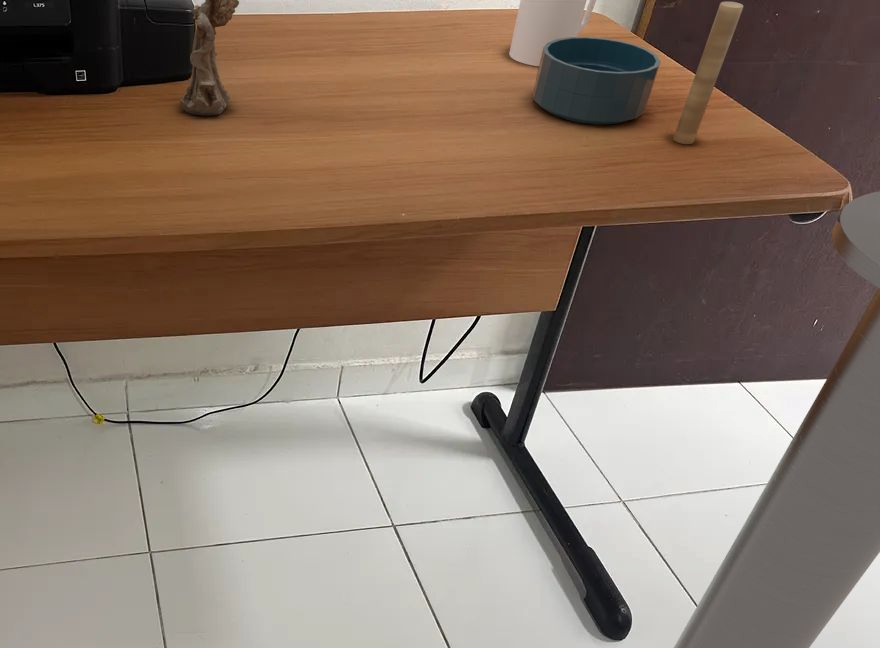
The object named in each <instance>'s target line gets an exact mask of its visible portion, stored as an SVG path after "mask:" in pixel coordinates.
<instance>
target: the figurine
mask: <svg viewBox="0 0 880 648" xmlns="http://www.w3.org/2000/svg"><path fill="white" fill-rule="evenodd" d="M239 5H240V0H205V1H204V2H203V3H201V5H199V4H196V5H194V7H193V12H192V13H193V17H192V19H193V20H194V22H195V24H196V29H195V31H194V37H193V43H192V51H191V53H190V56H189V61H190V64H191V66H192V71H191V76H190V81H189V84H188V87H187V88H186V90H185V93H184V94H183V95H182V97H181V98H180V100H179V101H180V102H179V103H180V105H182V107H183V108H184V112H186V113H187V114H190V115H195V116H205V117H206V116H217V115H220V114H222V113H223V112H225V110H226V108H227V106H228V104H229V101H230V99H231V93H229V91H228V90H226V88H225V86H224V85H223V82H222V80H221V78H220V77H221V76H220V73H219V69H218V65H217V56H218V52H216V46H215V40H216V35H217V32H216V28H220V27H225V26H226V25H227V24H228V23H229V21H231V20H232V18H233V15H234V14H235V13H236V8H237V7H238V6H239Z"/></svg>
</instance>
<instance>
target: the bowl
mask: <svg viewBox="0 0 880 648" xmlns="http://www.w3.org/2000/svg"><path fill="white" fill-rule="evenodd" d="M660 66H661V59H660V57H659V55H657V54H656V53H655V52H653V51H652V50H650V49H648V48H645V47H643V46H641V45H637V44H634V43H630V42H627V41H622V40H618V39H612V38H605V37H595V36H594V37H593V36H577V37H568V38H562V39H556V40H553V41H551V42H548V43H547V44H546V45H545V46H544V48H543V51H542V56H541V60H540V64H539V66H538V69H537V73H536V78H535V81H534V86H533V90H532V95H531V96H532V99H533V101H534V102H535V103H536V104H537V105H538V106H539V107H540V108H542V109H543V110H544V111H546V112H548V113H549V114H550V115H553V116H556V117H558V118H561V119H564V120H568V121H571V122H575V123H581V124H590V125H615V124H622V123H625V122H628V121H630V120H635V119H638V118H639V117H641V116H643V115H644V113H645V111H646V109H647V106H648V103H649V100H650V97H651V94H652V90H653V86H654V84H655V81H656V77H657V75H658V72H659V68H660Z"/></svg>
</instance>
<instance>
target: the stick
mask: <svg viewBox="0 0 880 648" xmlns="http://www.w3.org/2000/svg"><path fill="white" fill-rule="evenodd" d="M743 9H744V5H743V4H742V3H739V2H736V1H721V2H720V3H719V6H718V9H717V12H716V15H715V18H714V20H713V24H712V26H711V29H710V32H709V35H708V38H707V41H706V43H705V47H704V49H703V52H702V55H701V57H700V61H699V63H698V66H697V69H696V72H695V75H694V78H693V80H692V84H691V86H690V89H689V92H688V95H687V98H686V100H685V102H684V106H683V109H682V112H681V115H680V118H679V121H678V123H677V126H676V129H675V132H674V135H673V138H672V139H673V141H674V142H676V143H678V144H681V145H691V144H694V142H695V140H696V137H697V136H698V135H697V134H698V132H699V129H700V126H701V123H702V121H703V119H704V115H705V113H706V110H707V108H708V105H709V102H710V99H711V97H712V94H713V91H714V88H715V86H716V83H717V80H718V77H719V74H720V71H721V69H722V67H723V63H724V61H725V58H726V55H727V53H728V51H729V48H730V44H731V42H732V40H733V39H732V38H733V36H734V33H735V31H736V28H737V26H738V22H739V20H740V17H741V14H742V12H743Z"/></svg>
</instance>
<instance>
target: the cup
mask: <svg viewBox="0 0 880 648" xmlns="http://www.w3.org/2000/svg"><path fill="white" fill-rule="evenodd" d="M596 2H597V0H589V2H588V4H587V0H520V1H519V6H518V10H517V16H516V18H515V19H516V20H515V24H514V29H513V34H512V39H511V44H510V48H509V52H508V53H509V55H508V56H509V57H510V58H511V59H512V60H514V61H516V62H518V63H521V64H525V65H527V66H534V67H539V64H540V60H541V56H542V51H543V48H544V46H545V45H546V44H547V43H548V42H551V41H553V40H556V39H562V38H568V37H579V32H583V30H584V29H585V28H586V26H587V25H588V24H589V21H590V19H591V16H592V13H593V11H594V8H595V5H596ZM586 4H587V6H586ZM585 8H586V10H585Z"/></svg>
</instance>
